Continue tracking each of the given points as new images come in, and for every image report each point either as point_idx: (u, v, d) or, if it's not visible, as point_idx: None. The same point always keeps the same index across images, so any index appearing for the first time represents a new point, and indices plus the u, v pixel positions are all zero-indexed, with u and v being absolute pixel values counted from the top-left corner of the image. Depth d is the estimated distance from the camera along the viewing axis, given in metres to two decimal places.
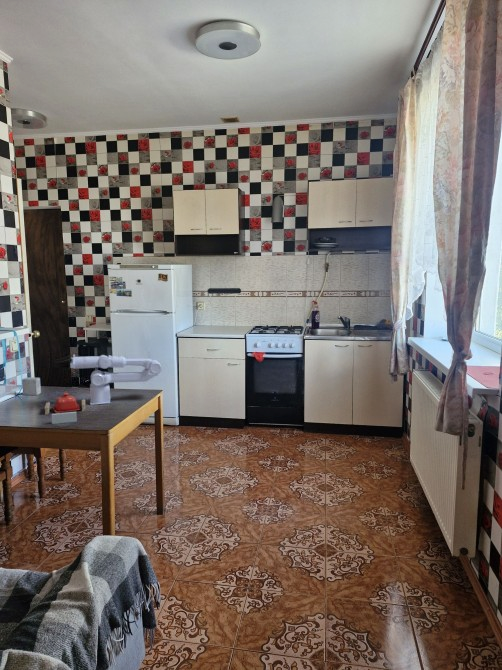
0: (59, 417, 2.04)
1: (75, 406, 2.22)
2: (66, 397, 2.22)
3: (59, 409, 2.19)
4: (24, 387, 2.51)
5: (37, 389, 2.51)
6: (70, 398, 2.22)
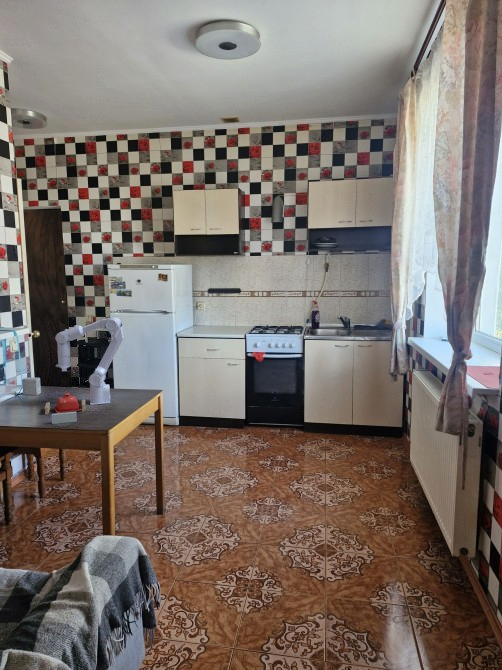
0: (59, 417, 2.04)
1: (76, 406, 2.22)
2: (67, 397, 2.22)
3: (60, 409, 2.18)
4: (24, 387, 2.51)
5: (37, 389, 2.51)
6: (71, 398, 2.22)
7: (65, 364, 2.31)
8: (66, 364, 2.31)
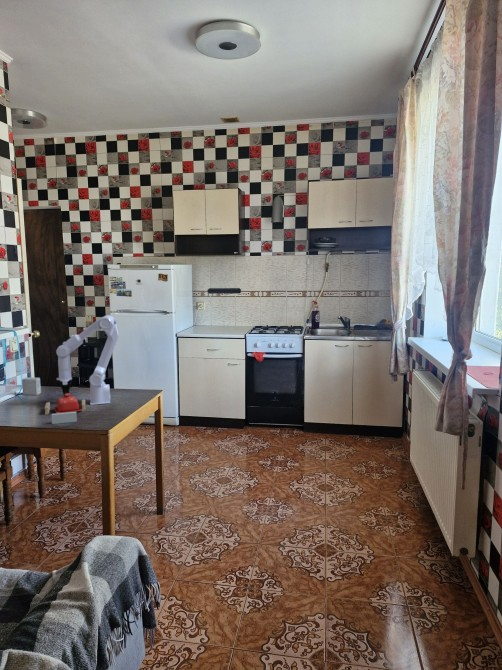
0: (59, 417, 2.04)
1: (77, 407, 2.21)
2: (67, 398, 2.21)
3: (60, 410, 2.18)
4: (24, 387, 2.51)
5: (37, 389, 2.51)
6: (71, 399, 2.21)
7: (66, 377, 2.31)
8: (67, 377, 2.31)
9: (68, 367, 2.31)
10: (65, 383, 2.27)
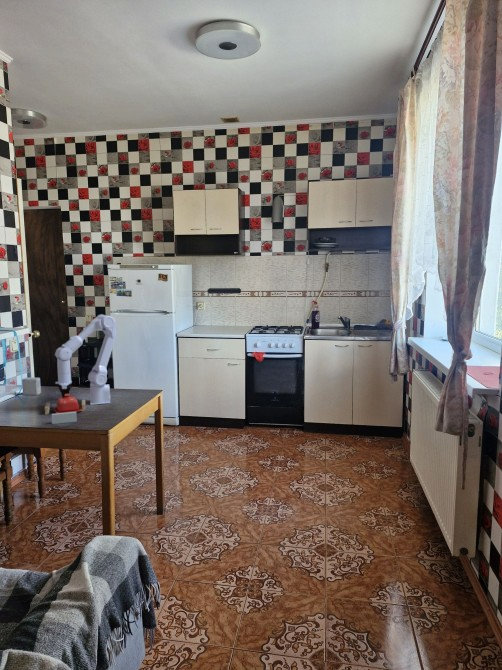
0: (59, 417, 2.04)
1: (77, 407, 2.20)
2: (67, 398, 2.20)
3: (60, 410, 2.17)
4: (24, 387, 2.51)
5: (37, 389, 2.51)
6: (71, 399, 2.20)
7: (65, 381, 2.23)
8: (66, 381, 2.23)
9: (70, 370, 2.25)
10: (64, 387, 2.19)
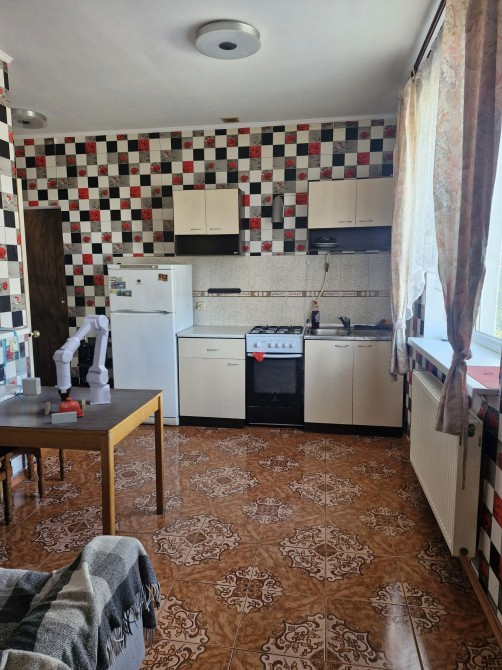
0: (59, 417, 2.04)
1: (78, 412, 2.13)
2: (69, 402, 2.13)
3: None
4: (24, 387, 2.51)
5: (37, 389, 2.51)
6: (73, 403, 2.13)
7: (65, 385, 2.16)
8: (66, 385, 2.16)
9: None
10: (64, 391, 2.12)
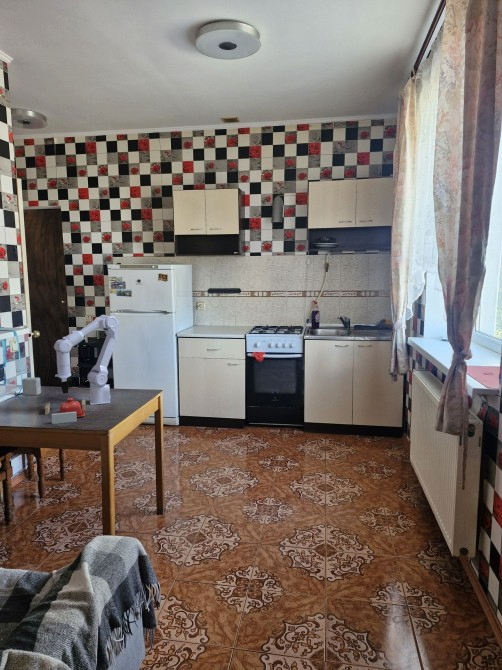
0: (59, 417, 2.04)
1: (79, 412, 2.13)
2: (70, 402, 2.13)
3: None
4: (24, 387, 2.51)
5: (37, 389, 2.51)
6: (74, 404, 2.13)
7: (65, 374, 2.21)
8: (66, 374, 2.21)
9: (69, 362, 2.23)
10: (64, 380, 2.17)
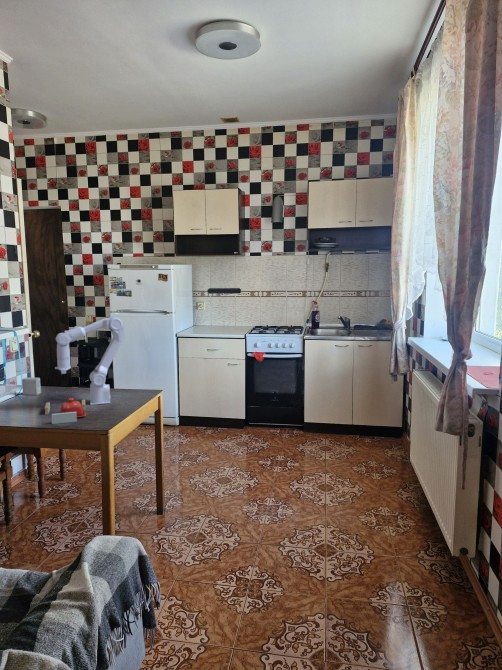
0: (59, 417, 2.04)
1: (80, 412, 2.13)
2: (71, 403, 2.13)
3: None
4: (24, 387, 2.51)
5: (37, 389, 2.51)
6: (75, 404, 2.13)
7: (64, 366, 2.25)
8: (65, 366, 2.25)
9: (68, 355, 2.26)
10: (64, 372, 2.21)
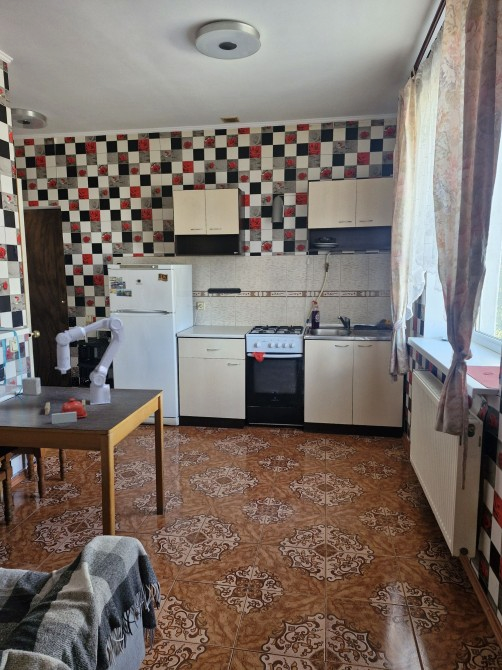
0: (59, 417, 2.04)
1: (81, 412, 2.12)
2: (72, 403, 2.12)
3: None
4: (24, 387, 2.51)
5: (37, 389, 2.51)
6: (76, 404, 2.12)
7: (64, 366, 2.25)
8: (65, 366, 2.25)
9: (68, 355, 2.26)
10: (64, 372, 2.21)
